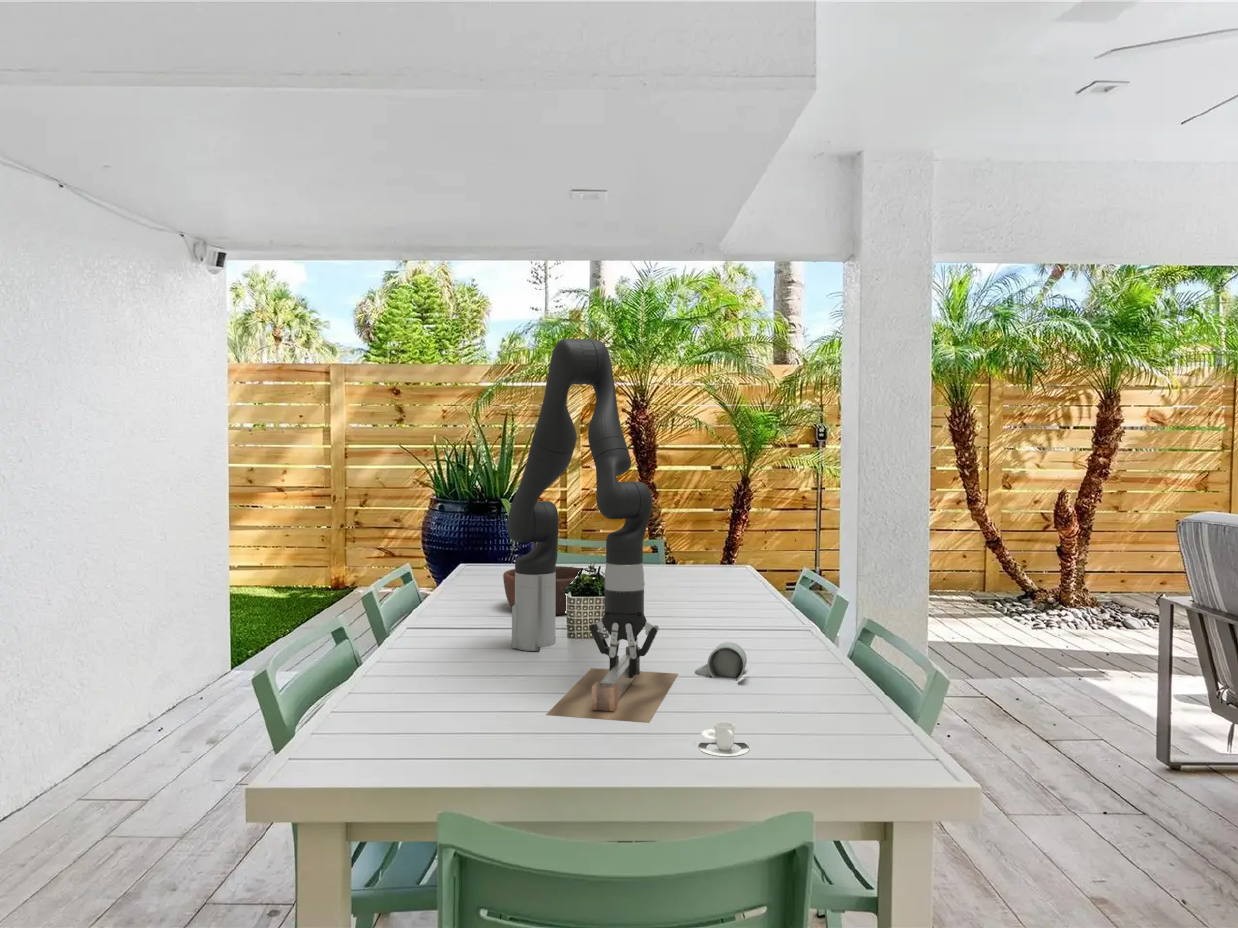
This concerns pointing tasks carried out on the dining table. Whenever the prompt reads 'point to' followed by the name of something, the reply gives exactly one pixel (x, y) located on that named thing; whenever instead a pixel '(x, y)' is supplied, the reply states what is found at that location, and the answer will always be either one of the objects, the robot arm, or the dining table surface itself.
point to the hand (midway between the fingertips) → (623, 676)
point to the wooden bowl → (562, 581)
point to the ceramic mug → (725, 661)
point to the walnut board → (632, 704)
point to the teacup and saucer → (722, 739)
